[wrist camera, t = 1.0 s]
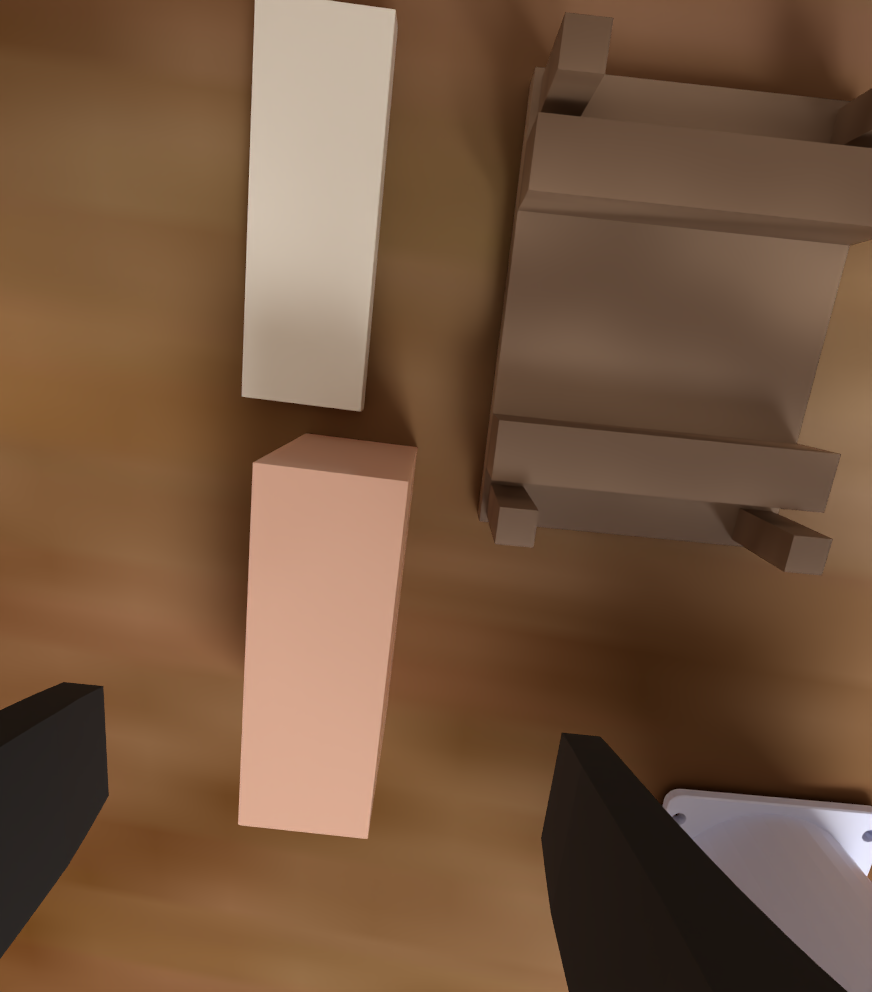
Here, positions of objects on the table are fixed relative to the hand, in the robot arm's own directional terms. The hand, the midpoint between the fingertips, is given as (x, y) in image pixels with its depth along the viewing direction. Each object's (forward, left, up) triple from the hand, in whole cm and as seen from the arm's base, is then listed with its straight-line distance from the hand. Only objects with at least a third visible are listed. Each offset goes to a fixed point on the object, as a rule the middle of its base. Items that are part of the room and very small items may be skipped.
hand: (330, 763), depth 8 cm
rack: (+8, -7, -10) cm, 14 cm away
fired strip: (+10, +3, -10) cm, 14 cm away
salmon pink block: (-1, +1, -10) cm, 10 cm away
